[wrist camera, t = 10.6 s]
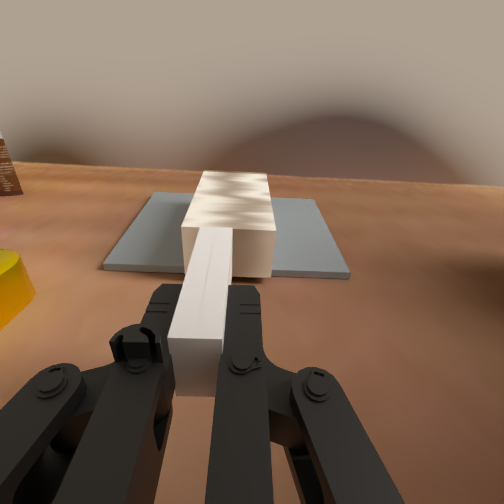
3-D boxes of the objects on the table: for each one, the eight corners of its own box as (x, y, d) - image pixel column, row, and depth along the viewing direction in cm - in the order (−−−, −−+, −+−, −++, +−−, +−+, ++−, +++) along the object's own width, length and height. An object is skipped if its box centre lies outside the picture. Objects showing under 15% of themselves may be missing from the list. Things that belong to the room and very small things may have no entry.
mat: (312, 204, 46) (313, 199, 45) (348, 278, 29) (350, 272, 29) (155, 196, 44) (155, 191, 44) (104, 270, 28) (102, 263, 28)
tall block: (270, 277, 28) (263, 208, 41) (276, 230, 25) (265, 173, 38) (184, 274, 27) (205, 205, 41) (181, 226, 25) (204, 169, 38)
